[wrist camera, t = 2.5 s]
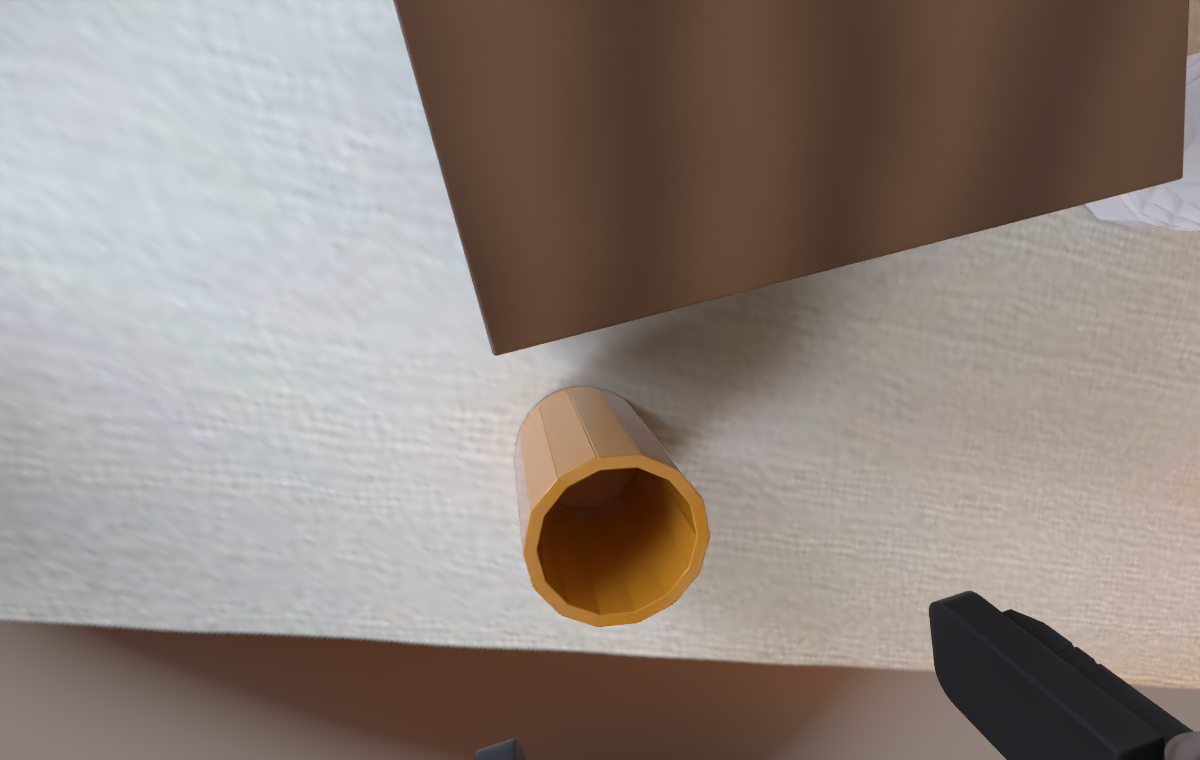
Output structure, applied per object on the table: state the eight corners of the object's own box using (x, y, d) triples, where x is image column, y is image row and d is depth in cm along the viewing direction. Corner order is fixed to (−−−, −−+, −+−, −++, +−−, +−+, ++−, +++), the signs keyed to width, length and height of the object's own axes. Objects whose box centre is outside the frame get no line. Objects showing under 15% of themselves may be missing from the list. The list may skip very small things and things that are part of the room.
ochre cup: (533, 527, 28) (551, 650, 20) (498, 404, 27) (501, 484, 19) (657, 491, 29) (722, 596, 21) (630, 369, 27) (689, 431, 19)
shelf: (492, 296, 26) (493, 357, 14) (410, 0, 23) (328, -231, 11) (894, 197, 27) (1184, 178, 16) (868, -89, 24) (1203, -366, 13)
